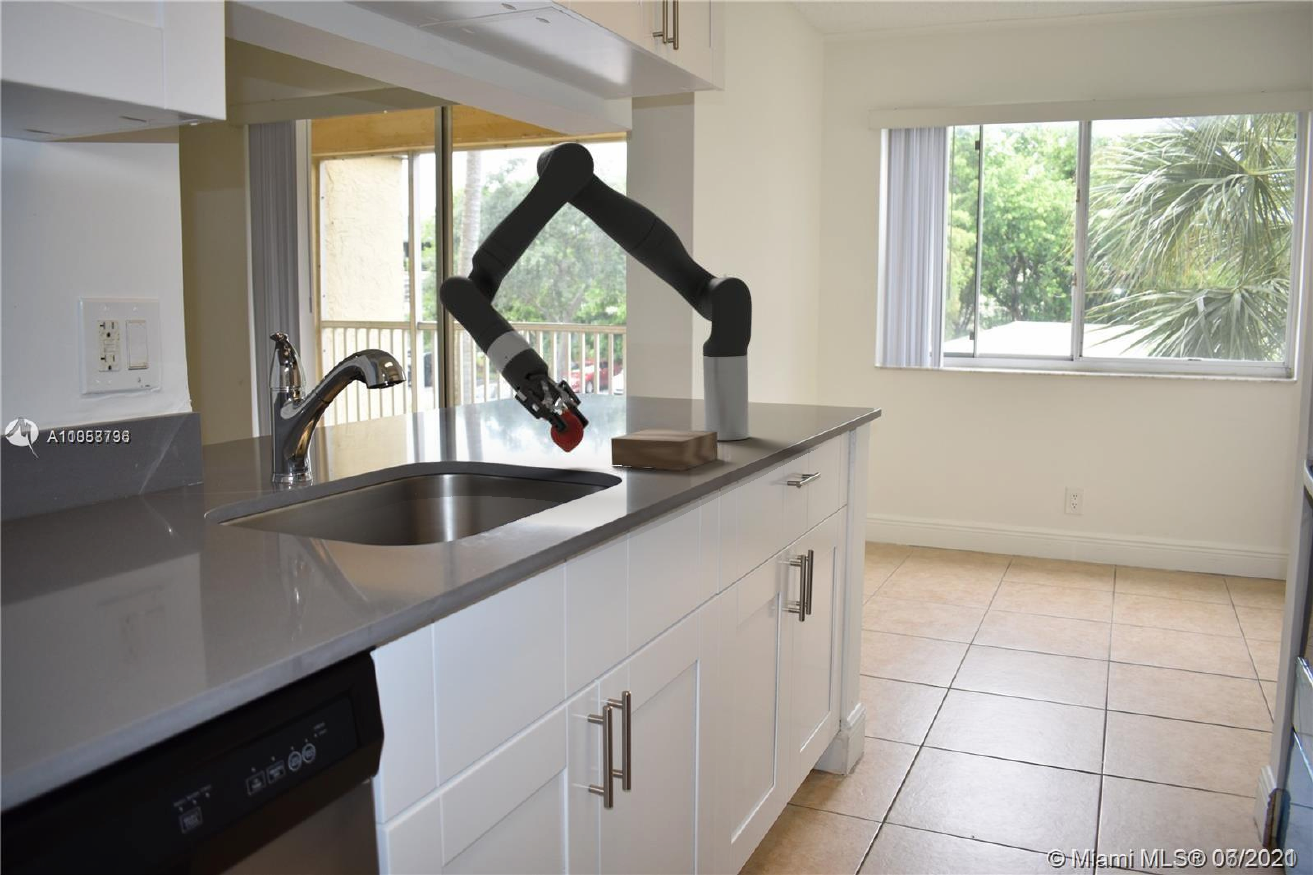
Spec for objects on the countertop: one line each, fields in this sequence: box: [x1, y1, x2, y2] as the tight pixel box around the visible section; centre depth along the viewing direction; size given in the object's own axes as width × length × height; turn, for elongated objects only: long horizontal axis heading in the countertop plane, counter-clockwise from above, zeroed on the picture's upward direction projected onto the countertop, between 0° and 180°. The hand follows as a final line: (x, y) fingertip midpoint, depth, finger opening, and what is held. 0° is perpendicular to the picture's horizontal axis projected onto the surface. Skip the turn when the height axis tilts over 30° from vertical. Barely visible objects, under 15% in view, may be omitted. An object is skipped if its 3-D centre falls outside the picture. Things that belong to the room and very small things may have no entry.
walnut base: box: [610, 428, 719, 472], centre depth 179 cm, size 14×14×5 cm
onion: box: [550, 407, 585, 453], centre depth 178 cm, size 6×6×8 cm
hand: (575, 428), depth 177 cm, fingers closed on onion, 5 cm apart
